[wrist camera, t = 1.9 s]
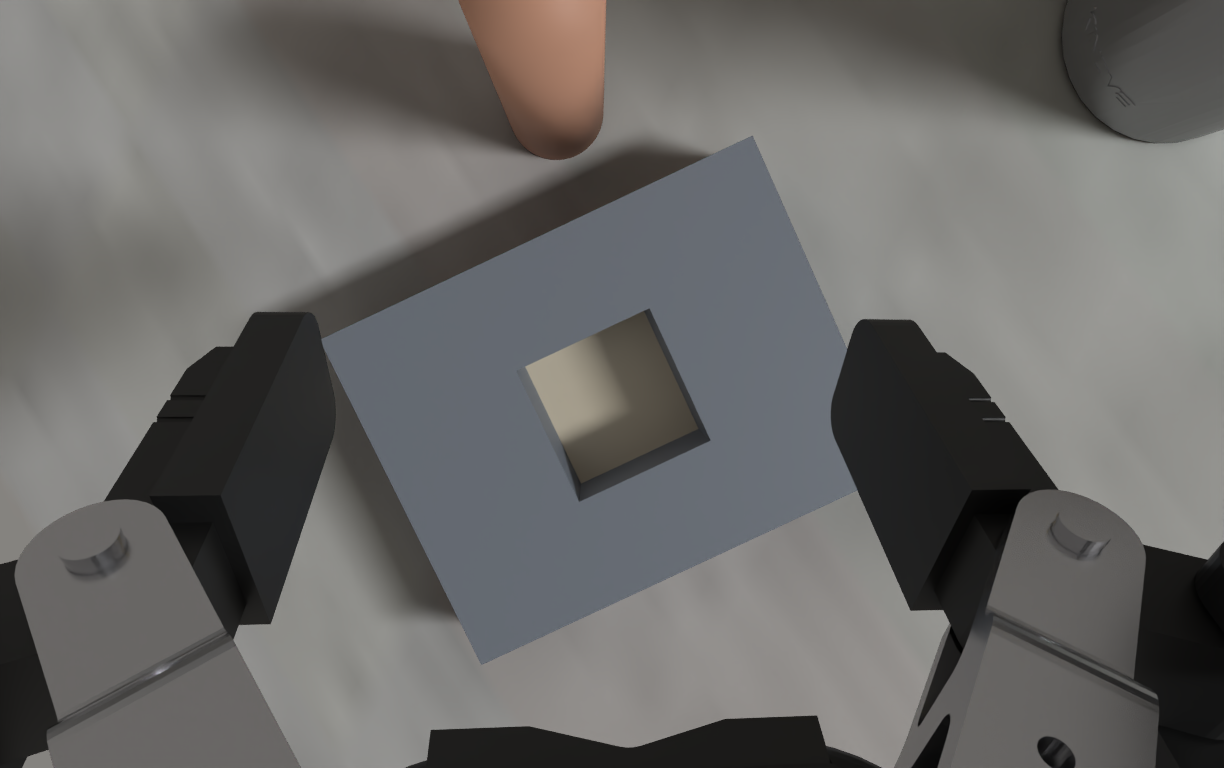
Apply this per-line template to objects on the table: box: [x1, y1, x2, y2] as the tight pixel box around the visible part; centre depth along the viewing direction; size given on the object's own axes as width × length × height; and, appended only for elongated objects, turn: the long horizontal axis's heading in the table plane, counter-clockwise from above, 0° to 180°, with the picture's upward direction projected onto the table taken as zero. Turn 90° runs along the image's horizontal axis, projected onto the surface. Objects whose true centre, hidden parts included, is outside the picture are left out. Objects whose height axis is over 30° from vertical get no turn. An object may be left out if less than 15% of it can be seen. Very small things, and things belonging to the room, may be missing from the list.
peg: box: [459, 0, 606, 160], centre depth 26 cm, size 4×4×12 cm
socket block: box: [321, 136, 857, 665], centre depth 31 cm, size 18×14×4 cm
